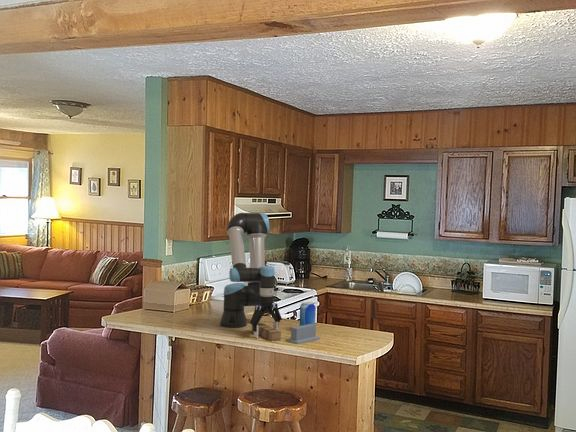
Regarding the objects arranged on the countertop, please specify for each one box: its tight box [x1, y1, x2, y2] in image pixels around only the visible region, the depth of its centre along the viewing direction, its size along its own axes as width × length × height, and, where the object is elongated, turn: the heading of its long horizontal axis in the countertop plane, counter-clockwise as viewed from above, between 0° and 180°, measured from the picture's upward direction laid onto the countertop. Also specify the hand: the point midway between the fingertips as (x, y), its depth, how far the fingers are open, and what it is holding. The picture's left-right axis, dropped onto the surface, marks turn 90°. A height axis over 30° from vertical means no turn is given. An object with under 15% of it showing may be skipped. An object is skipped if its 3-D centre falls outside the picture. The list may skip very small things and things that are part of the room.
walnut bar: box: [251, 321, 282, 342], centre depth 311 cm, size 24×5×5 cm, turn 29°
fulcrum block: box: [286, 324, 321, 345], centre depth 304 cm, size 8×16×7 cm, turn 134°
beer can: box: [299, 301, 316, 326], centre depth 322 cm, size 8×8×16 cm
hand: (265, 335), depth 311 cm, fingers open, 13 cm apart
